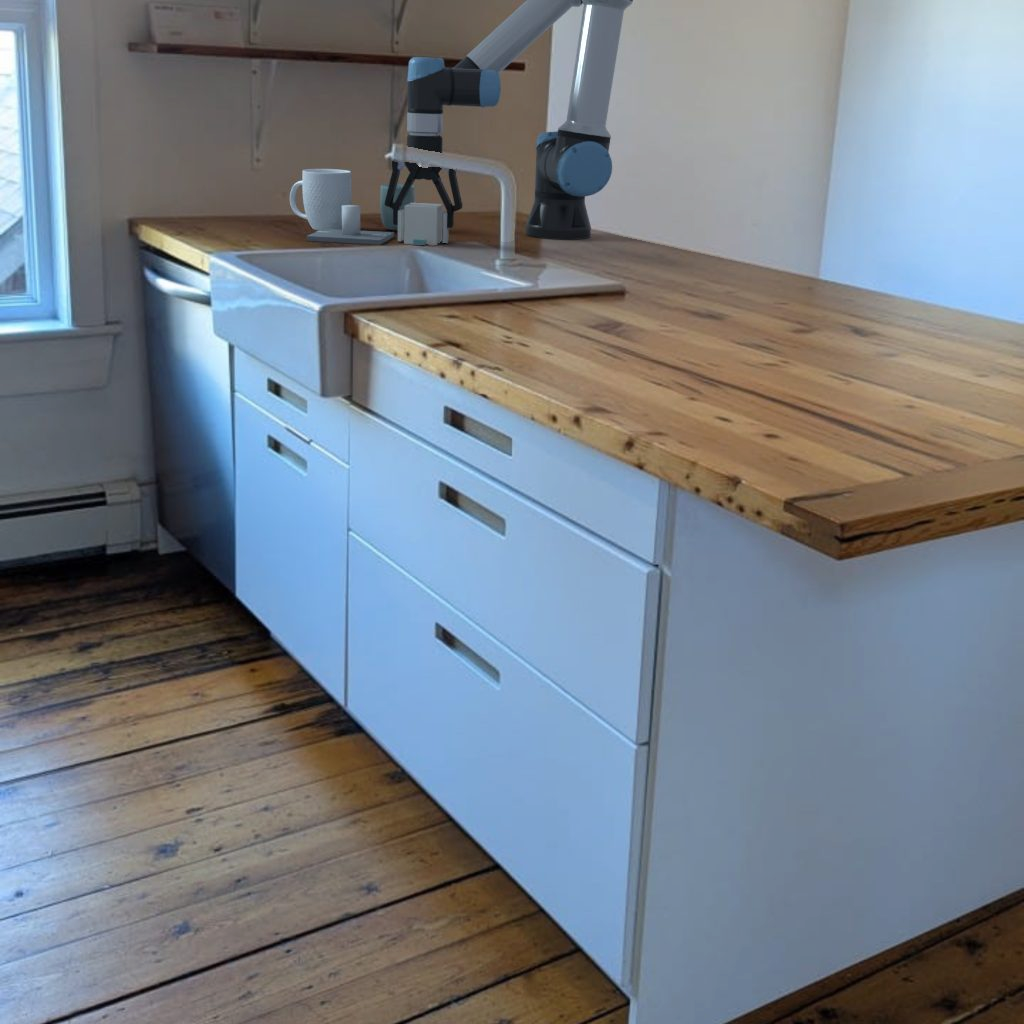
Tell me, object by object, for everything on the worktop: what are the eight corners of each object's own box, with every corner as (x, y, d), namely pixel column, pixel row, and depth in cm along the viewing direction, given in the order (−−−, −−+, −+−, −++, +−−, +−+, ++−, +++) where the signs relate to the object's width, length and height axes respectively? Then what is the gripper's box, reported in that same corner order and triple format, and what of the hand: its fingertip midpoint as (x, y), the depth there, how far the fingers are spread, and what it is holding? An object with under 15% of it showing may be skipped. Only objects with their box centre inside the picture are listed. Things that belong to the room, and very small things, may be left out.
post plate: (393, 236, 293) (394, 204, 291) (379, 244, 280) (380, 211, 278) (323, 233, 295) (323, 201, 292) (306, 240, 282) (306, 207, 279)
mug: (279, 228, 299) (278, 169, 295) (302, 224, 309) (301, 166, 305) (338, 233, 295) (337, 173, 290) (359, 229, 304) (359, 170, 300)
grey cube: (443, 240, 290) (443, 203, 287) (434, 246, 280) (435, 208, 278) (411, 239, 291) (412, 202, 288) (402, 244, 281) (403, 206, 279)
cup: (375, 230, 303) (375, 185, 300) (388, 227, 310) (388, 183, 307) (406, 232, 301) (407, 188, 298) (418, 229, 308) (419, 185, 305)
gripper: (478, 135, 281) (475, 242, 288) (377, 131, 283) (377, 237, 290) (473, 137, 273) (470, 246, 281) (369, 132, 276) (369, 241, 283)
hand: (423, 241), depth 285 cm, fingers open, 9 cm apart
